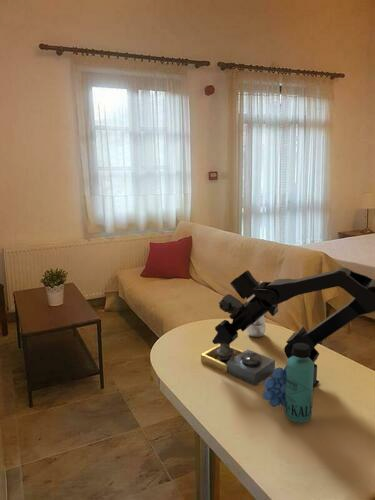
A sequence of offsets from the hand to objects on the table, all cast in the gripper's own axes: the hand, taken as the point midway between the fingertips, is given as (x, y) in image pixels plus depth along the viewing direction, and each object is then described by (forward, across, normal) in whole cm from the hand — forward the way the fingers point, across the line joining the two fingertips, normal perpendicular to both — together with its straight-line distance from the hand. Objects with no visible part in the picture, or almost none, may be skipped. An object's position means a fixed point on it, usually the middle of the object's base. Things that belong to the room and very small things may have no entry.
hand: (220, 336), depth 123 cm
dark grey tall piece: (+5, 0, +7) cm, 8 cm away
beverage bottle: (-15, +16, +27) cm, 35 cm away
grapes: (-12, +12, +23) cm, 29 cm away
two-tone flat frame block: (+1, +1, +10) cm, 10 cm away
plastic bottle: (+4, -22, +8) cm, 23 cm away
